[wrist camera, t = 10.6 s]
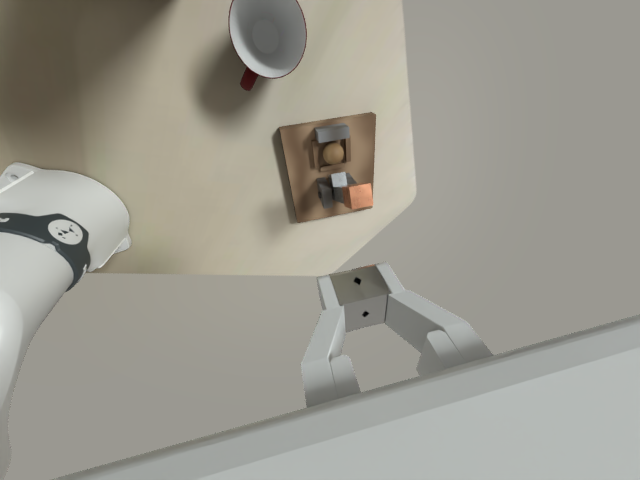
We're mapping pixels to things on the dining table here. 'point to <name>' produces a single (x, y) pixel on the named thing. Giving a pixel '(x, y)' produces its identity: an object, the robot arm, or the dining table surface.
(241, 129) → the dining table surface
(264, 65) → the mug
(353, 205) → the lever
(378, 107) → the dining table surface
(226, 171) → the dining table surface
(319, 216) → the bench
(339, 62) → the dining table surface
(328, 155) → the walnut
